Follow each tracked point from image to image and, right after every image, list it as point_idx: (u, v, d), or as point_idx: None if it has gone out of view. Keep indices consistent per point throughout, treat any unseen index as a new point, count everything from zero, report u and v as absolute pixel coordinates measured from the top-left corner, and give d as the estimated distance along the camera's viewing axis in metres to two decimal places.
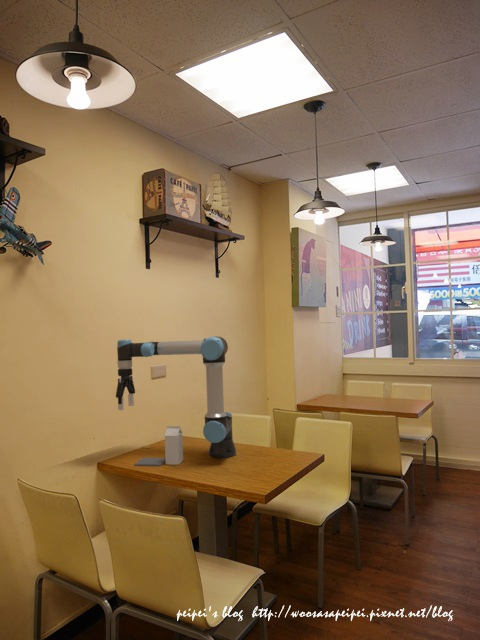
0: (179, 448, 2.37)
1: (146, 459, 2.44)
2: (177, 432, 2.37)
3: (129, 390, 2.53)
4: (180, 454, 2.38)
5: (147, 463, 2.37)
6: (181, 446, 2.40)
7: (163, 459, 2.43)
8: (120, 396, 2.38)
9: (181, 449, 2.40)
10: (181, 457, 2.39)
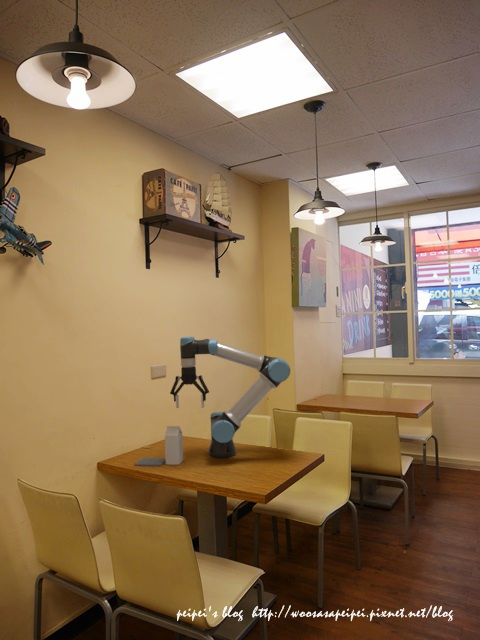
0: (179, 448, 2.37)
1: (146, 459, 2.44)
2: (177, 432, 2.37)
3: None
4: (180, 454, 2.38)
5: (147, 463, 2.37)
6: (181, 446, 2.40)
7: (163, 459, 2.43)
8: (170, 393, 2.39)
9: (181, 449, 2.40)
10: (181, 457, 2.39)
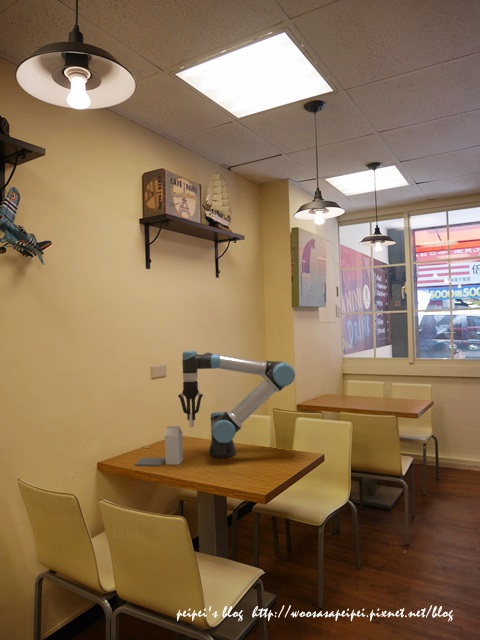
0: (179, 448, 2.37)
1: (146, 459, 2.44)
2: (177, 432, 2.37)
3: None
4: (180, 454, 2.38)
5: (147, 463, 2.37)
6: (181, 446, 2.40)
7: (163, 459, 2.43)
8: (184, 412, 2.37)
9: (181, 449, 2.40)
10: (181, 457, 2.39)
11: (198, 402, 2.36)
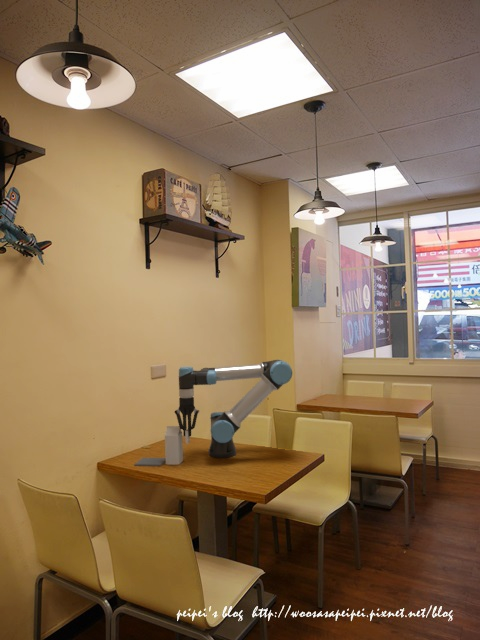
0: (179, 448, 2.37)
1: (146, 459, 2.44)
2: (177, 432, 2.37)
3: None
4: (180, 454, 2.38)
5: (147, 463, 2.37)
6: (181, 446, 2.40)
7: (163, 459, 2.43)
8: (180, 428, 2.37)
9: (181, 449, 2.40)
10: (181, 457, 2.39)
11: (194, 418, 2.36)
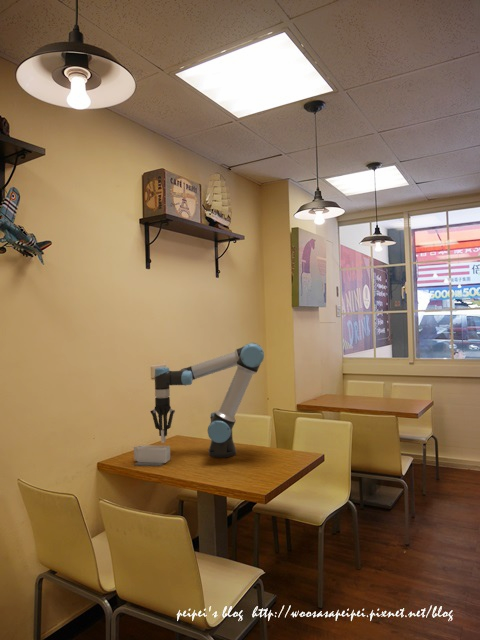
0: (152, 447, 2.40)
1: None
2: (137, 449, 2.41)
3: None
4: (159, 447, 2.40)
5: (147, 463, 2.37)
6: (154, 446, 2.43)
7: None
8: (156, 428, 2.39)
9: (156, 446, 2.43)
10: (163, 446, 2.41)
11: (170, 418, 2.38)
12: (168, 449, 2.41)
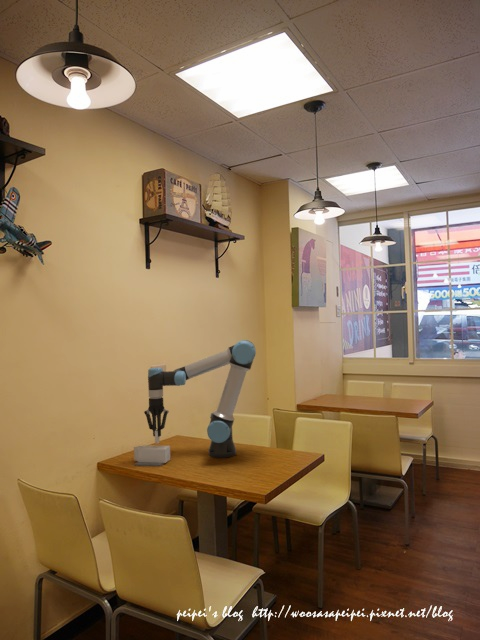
0: (152, 447, 2.40)
1: None
2: (137, 449, 2.41)
3: None
4: (159, 447, 2.40)
5: (147, 463, 2.37)
6: (154, 446, 2.43)
7: None
8: None
9: (156, 446, 2.43)
10: (163, 446, 2.41)
11: (163, 418, 2.39)
12: (168, 449, 2.41)
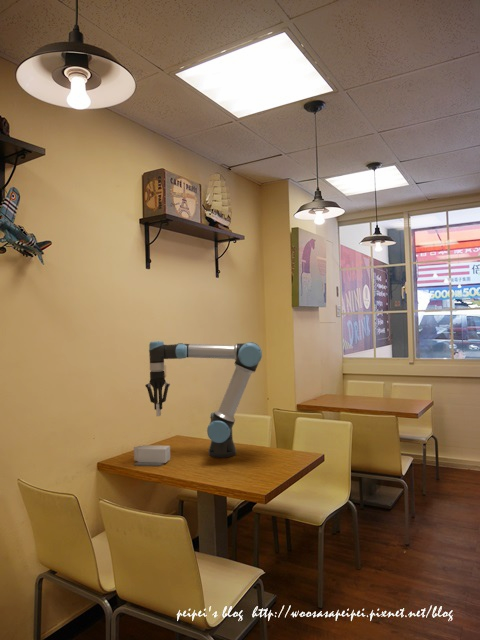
0: (152, 447, 2.40)
1: None
2: (137, 449, 2.41)
3: None
4: (159, 447, 2.40)
5: (147, 463, 2.37)
6: (154, 446, 2.43)
7: None
8: None
9: (156, 446, 2.43)
10: (163, 446, 2.41)
11: (165, 391, 2.39)
12: (168, 449, 2.41)
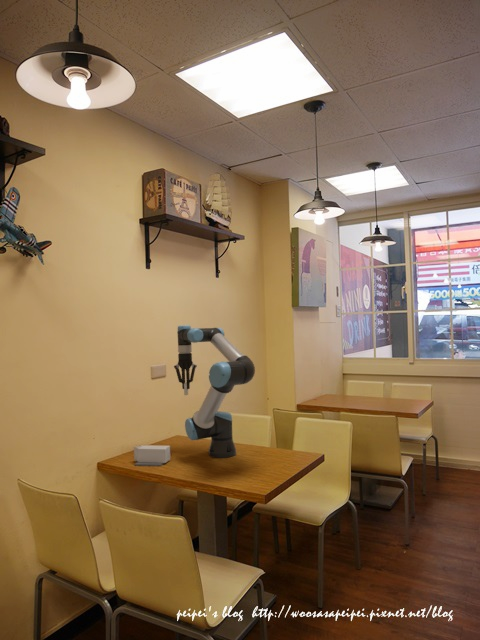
0: (152, 447, 2.40)
1: None
2: (137, 449, 2.41)
3: None
4: (159, 447, 2.40)
5: (147, 463, 2.37)
6: (154, 446, 2.43)
7: None
8: None
9: (156, 446, 2.43)
10: (163, 446, 2.41)
11: (192, 372, 2.56)
12: (168, 449, 2.41)
